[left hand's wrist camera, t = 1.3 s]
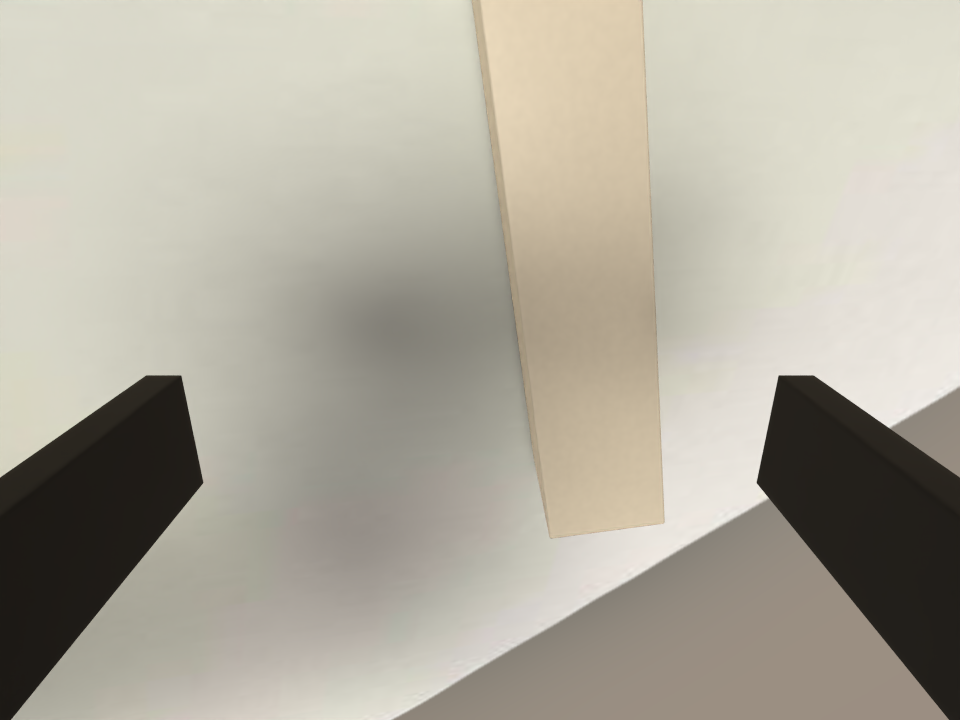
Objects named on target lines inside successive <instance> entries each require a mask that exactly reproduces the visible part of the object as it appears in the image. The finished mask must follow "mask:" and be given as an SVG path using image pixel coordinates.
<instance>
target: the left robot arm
mask: <svg viewBox="0 0 960 720" xmlns="http://www.w3.org/2000/svg"><path fill="white" fill-rule="evenodd" d="M202 484H203V479H202V474H201V469H200V464H199V459H198V455H197V450H196V445H195V440H194V435H193V430H192V425H191V421H190V416H189V411H188V406H187V401H186V396H185V391H184V387H183V382H182V377H181V376H145V377H144V378H142V379H141V380H139V381H138V382H136V383H135V384H134V385H132V386H131V387H129V388H128V389H126V390H125V391H124V392H122V393H121V394H119V395H118V396H116V397H115V398H114V399H112V400H111V401H109V402H108V403H106V404H105V405H103V406H102V407H101V408H99V409H98V410H96V411H95V412H93V413H92V414H91V415H89V416H88V417H86V418H85V419H83V420H82V421H81V422H79V423H78V424H76V425H75V426H73V427H72V428H71V429H69V430H68V431H66V432H65V433H63V434H62V435H61V436H59V437H58V438H56V439H55V440H53V441H52V442H51V443H49V444H48V445H46V446H45V447H43V448H42V449H41V450H39V451H38V452H36V453H35V454H33V455H32V456H31V457H29V458H28V459H26V460H25V461H23V462H22V463H21V464H19V465H18V466H16V467H15V468H13V469H12V470H10V471H9V472H8V473H6V474H5V475H3V476H2V477H0V720H11V719H12V718H13V716H14V715H15V714H16V713H17V712H18V710H19V709H20V708H21V707H22V705H23V704H24V703H25V702H26V700H27V699H28V698H29V697H30V696H31V694H32V693H33V692H34V691H35V689H36V688H37V687H38V686H39V684H40V683H41V682H42V681H43V680H44V678H45V677H46V676H47V675H48V673H49V672H50V671H51V670H52V668H53V667H54V666H55V665H56V664H57V662H58V661H59V660H60V659H61V657H62V656H63V655H64V654H65V652H66V651H67V650H68V649H69V648H70V646H71V645H72V644H73V643H74V641H75V640H76V639H77V638H78V636H79V635H80V634H81V633H82V632H83V630H84V629H85V628H86V627H87V625H88V624H89V623H90V622H91V620H92V619H93V618H94V617H95V616H96V614H97V613H98V612H99V611H100V609H101V608H102V607H103V606H104V604H105V603H106V602H107V601H108V600H109V598H110V597H111V596H112V595H113V593H114V592H115V591H116V590H117V588H118V587H119V586H120V585H121V584H122V582H123V581H124V580H125V579H126V577H127V576H128V575H129V574H130V572H131V571H132V570H133V569H134V568H135V566H136V565H137V564H138V563H139V561H140V560H141V559H142V558H143V556H144V555H145V554H146V553H147V552H148V550H149V549H150V548H151V547H152V545H153V544H154V543H155V542H156V540H157V539H158V538H159V537H160V536H161V534H162V533H163V532H164V531H165V529H166V528H167V527H168V526H169V524H170V523H171V522H172V521H173V520H174V518H175V517H176V516H177V515H178V513H179V512H180V511H181V510H182V508H183V507H184V506H185V505H186V504H187V502H188V501H189V500H190V499H191V497H192V496H193V495H194V494H195V492H196V491H197V490H198V489H199V488H200V486H201V485H202ZM757 484H758V485H759V486H760V488H761V489H762V490H763V491H764V492H765V494H766V495H767V496H768V497H769V499H770V500H771V501H772V502H773V504H774V505H775V506H776V507H777V508H778V510H779V511H780V512H781V513H782V515H783V516H784V517H785V518H786V520H787V521H788V522H789V523H790V524H791V526H792V527H793V528H794V529H795V531H796V532H797V533H798V534H799V536H800V537H801V538H802V539H803V540H804V542H805V543H806V544H807V545H808V547H809V548H810V549H811V550H812V552H813V553H814V554H815V555H816V556H817V558H818V559H819V560H820V561H821V563H822V564H823V565H824V566H825V568H826V569H827V570H828V571H829V572H830V574H831V575H832V576H833V577H834V579H835V580H836V581H837V582H838V584H839V585H840V586H841V587H842V588H843V590H844V591H845V592H846V593H847V595H848V596H849V597H850V598H851V600H852V601H853V602H854V603H855V604H856V606H857V607H858V608H859V609H860V611H861V612H862V613H863V614H864V616H865V617H866V618H867V619H868V620H869V622H870V623H871V624H872V625H873V627H874V628H875V629H876V630H877V631H878V633H879V634H880V635H881V636H882V638H883V639H884V640H885V641H886V643H887V644H888V645H889V646H890V648H891V649H892V650H893V651H894V652H895V654H896V655H897V656H898V657H899V659H900V660H901V661H902V662H903V663H904V665H905V666H906V667H907V668H908V670H909V671H910V672H911V673H912V675H913V676H914V677H915V678H916V680H917V681H918V682H919V683H920V684H921V686H922V687H923V688H924V689H925V691H926V692H927V693H928V694H929V696H930V697H931V698H932V699H933V700H934V702H935V703H936V704H937V705H938V707H939V708H940V709H941V710H942V712H943V713H944V714H945V715H946V716H947V718H948V719H949V720H960V478H959V477H958V476H957V475H955V474H954V473H952V472H951V471H950V470H948V469H947V468H945V467H944V466H942V465H941V464H939V463H938V462H937V461H935V460H934V459H932V458H931V457H929V456H928V455H927V454H925V453H924V452H922V451H921V450H919V449H918V448H917V447H915V446H914V445H912V444H911V443H909V442H908V441H907V440H905V439H904V438H902V437H901V436H899V435H898V434H897V433H895V432H894V431H892V430H891V429H889V428H888V427H887V426H885V425H884V424H882V423H881V422H879V421H878V420H877V419H875V418H874V417H872V416H871V415H869V414H868V413H867V412H865V411H864V410H862V409H861V408H859V407H858V406H857V405H855V404H854V403H852V402H851V401H849V400H848V399H846V398H845V397H844V396H842V395H841V394H839V393H838V392H836V391H835V390H834V389H832V388H831V387H829V386H828V385H826V384H825V383H824V382H822V381H821V380H819V379H818V378H816V377H815V376H779V377H778V382H777V387H776V391H775V396H774V401H773V406H772V411H771V416H770V421H769V425H768V430H767V435H766V440H765V445H764V450H763V455H762V459H761V464H760V469H759V474H758V479H757Z"/></svg>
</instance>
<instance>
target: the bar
mask: <svg viewBox="0 0 960 720" xmlns="http://www.w3.org/2000/svg"><path fill="white" fill-rule="evenodd" d="M472 5H473V13H474V20H475V27H476V35H477V42H478V49H479V57H480V64H481V72H482V79H483V86H484V94H485V101H486V109H487V116H488V123H489V131H490V138H491V145H492V153H493V160H494V168H495V175H496V182H497V190H498V197H499V205H500V212H501V219H502V227H503V234H504V241H505V249H506V256H507V264H508V271H509V278H510V286H511V293H512V301H513V308H514V315H515V323H516V330H517V337H518V345H519V352H520V360H521V367H522V374H523V382H524V389H525V397H526V404H527V411H528V419H529V426H530V433H531V441H532V448H533V456H534V461H535V466H536V471H537V476H538V481H539V486H540V491H541V496H542V501H543V507H544V512H545V517H546V522H547V527H548V532H549V537H550V538H559V537H566V536H574V535H581V534H589V533H596V532H604V531H611V530H619V529H626V528H634V527H641V526H649V525H656V524H663V523H664V499H663V476H662V452H661V428H660V405H659V381H658V358H657V334H656V310H655V287H654V263H653V240H652V216H651V193H650V169H649V145H648V122H647V98H646V75H645V51H644V27H643V4H642V0H472Z"/></svg>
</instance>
